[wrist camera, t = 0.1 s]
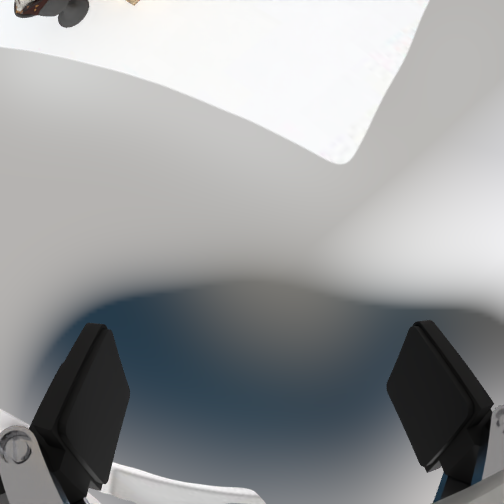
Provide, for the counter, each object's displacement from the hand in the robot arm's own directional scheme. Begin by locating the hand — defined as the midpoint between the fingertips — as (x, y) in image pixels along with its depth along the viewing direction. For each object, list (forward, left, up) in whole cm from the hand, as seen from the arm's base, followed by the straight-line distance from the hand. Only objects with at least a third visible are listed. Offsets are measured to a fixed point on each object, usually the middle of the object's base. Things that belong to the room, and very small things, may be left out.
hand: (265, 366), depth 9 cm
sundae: (-3, -34, -31) cm, 46 cm away
